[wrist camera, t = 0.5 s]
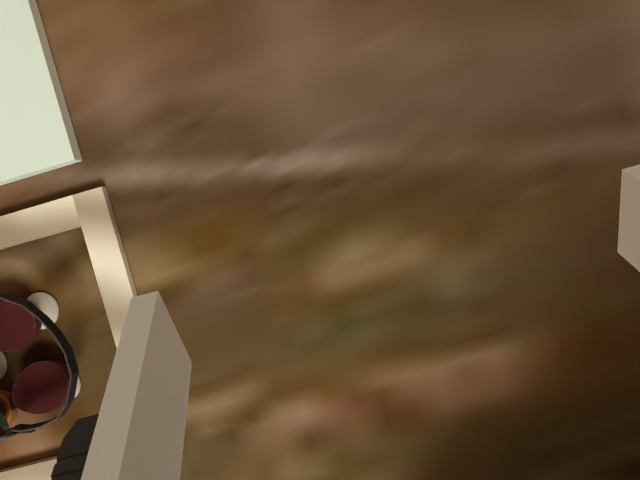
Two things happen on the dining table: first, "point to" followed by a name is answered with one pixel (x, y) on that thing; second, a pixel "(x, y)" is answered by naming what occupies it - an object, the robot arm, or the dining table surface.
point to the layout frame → (107, 263)
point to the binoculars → (33, 368)
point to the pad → (30, 98)
